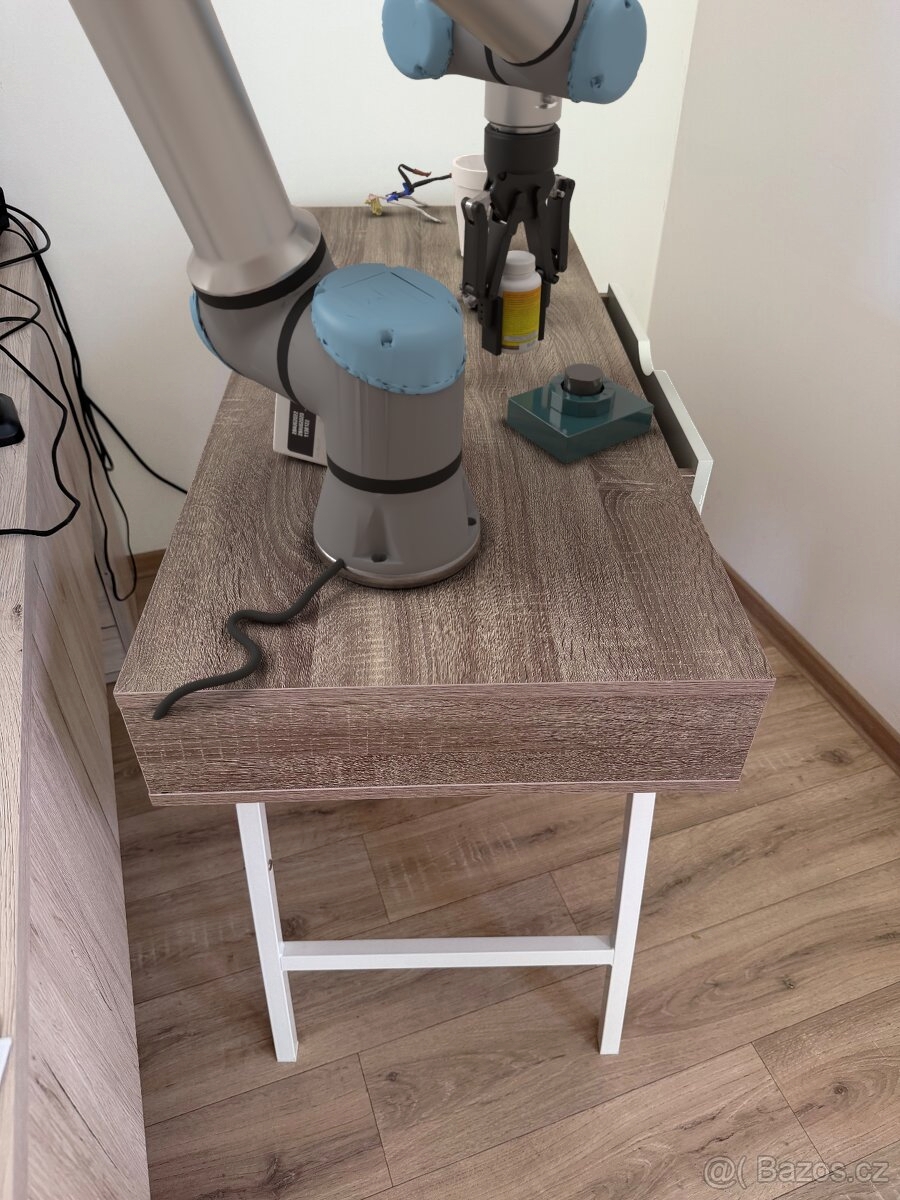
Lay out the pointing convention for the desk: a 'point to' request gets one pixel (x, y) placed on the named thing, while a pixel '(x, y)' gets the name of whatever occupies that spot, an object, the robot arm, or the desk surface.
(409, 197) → the figurine
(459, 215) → the foam cup
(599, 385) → the push button
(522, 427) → the teal button base
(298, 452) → the container
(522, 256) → the supplement bottle
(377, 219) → the desk surface
